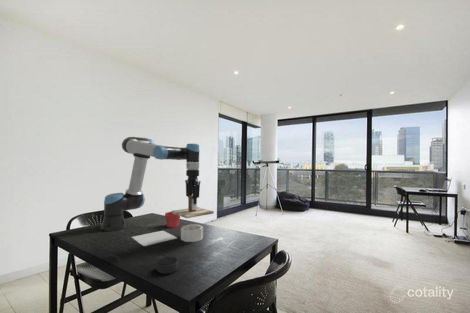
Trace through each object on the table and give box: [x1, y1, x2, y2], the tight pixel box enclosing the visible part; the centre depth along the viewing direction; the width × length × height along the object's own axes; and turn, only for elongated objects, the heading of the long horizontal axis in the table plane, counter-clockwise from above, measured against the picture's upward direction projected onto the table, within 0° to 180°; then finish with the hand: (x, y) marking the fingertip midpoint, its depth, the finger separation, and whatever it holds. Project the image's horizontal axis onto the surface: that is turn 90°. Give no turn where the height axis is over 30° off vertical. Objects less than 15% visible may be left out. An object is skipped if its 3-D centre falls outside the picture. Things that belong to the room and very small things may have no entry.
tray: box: [131, 230, 178, 247], centre depth 135 cm, size 20×20×1 cm
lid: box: [170, 194, 214, 219], centre depth 134 cm, size 18×18×10 cm
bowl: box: [180, 224, 204, 243], centre depth 134 cm, size 12×12×7 cm
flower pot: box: [164, 211, 181, 228], centre depth 160 cm, size 11×11×10 cm
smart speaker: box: [156, 256, 179, 275], centre depth 96 cm, size 9×9×4 cm
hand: (192, 209), depth 134 cm, fingers closed on lid, 3 cm apart
